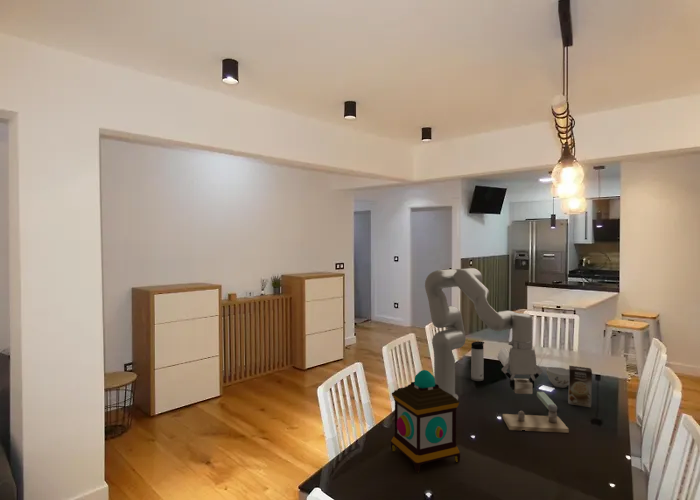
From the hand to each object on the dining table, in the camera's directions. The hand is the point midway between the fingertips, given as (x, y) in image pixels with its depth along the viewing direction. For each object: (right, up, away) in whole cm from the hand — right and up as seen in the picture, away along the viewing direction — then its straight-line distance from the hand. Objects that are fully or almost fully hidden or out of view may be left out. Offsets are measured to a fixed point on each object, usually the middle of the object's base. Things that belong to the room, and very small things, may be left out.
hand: (521, 388), depth 178 cm
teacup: (+38, -13, +47) cm, 62 cm away
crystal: (+25, -12, +88) cm, 93 cm away
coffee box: (+35, -14, +23) cm, 44 cm away
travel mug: (-1, -13, +57) cm, 58 cm away
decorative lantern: (-43, -16, -26) cm, 53 cm away
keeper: (+13, -8, +6) cm, 16 cm away
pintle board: (+5, -14, 0) cm, 15 cm away
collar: (0, -1, 0) cm, 1 cm away
